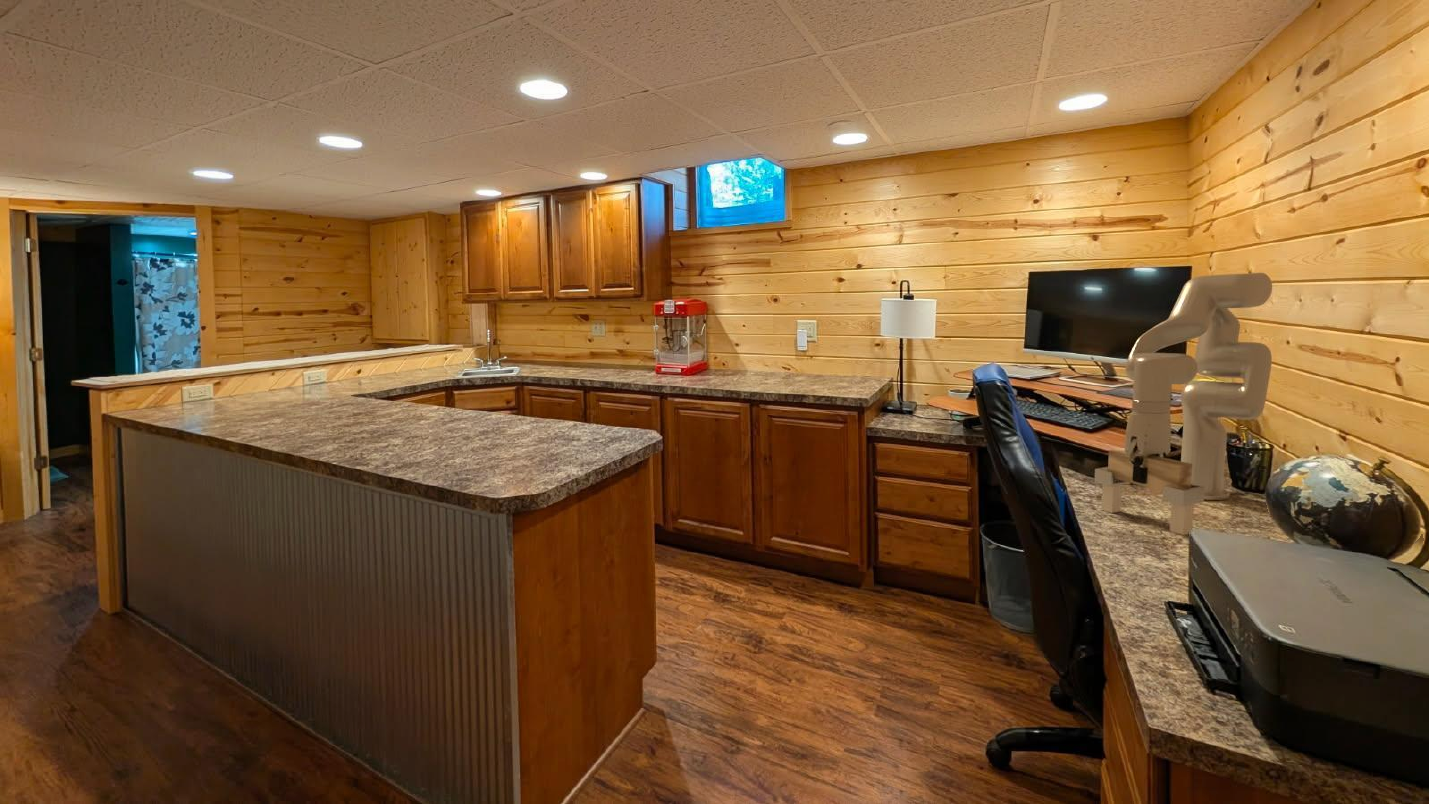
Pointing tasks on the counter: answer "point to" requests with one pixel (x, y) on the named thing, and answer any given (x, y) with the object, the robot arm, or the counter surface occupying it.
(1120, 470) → the rail
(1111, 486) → the bracket stand
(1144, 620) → the counter surface
